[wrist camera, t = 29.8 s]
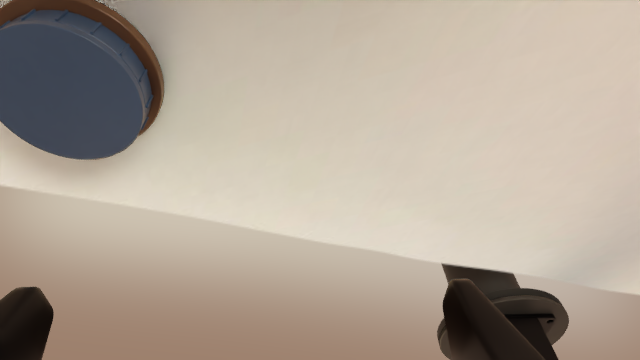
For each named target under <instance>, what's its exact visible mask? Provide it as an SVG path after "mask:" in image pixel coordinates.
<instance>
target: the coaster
mask: <svg viewBox="0 0 640 360" xmlns="http://www.w3.org/2000/svg"><path fill="white" fill-rule="evenodd" d="M32 9H35V10H36V11H39V10H60V11H64V10H65V9H66V10H68V11H69V12H71V13H75V14H79V15H81V16H85V17H87V18H89V19H92V20H94V21H96V22H98V23H99V22H101V23H102V25H103V26H105V27H107V28H108V29H109V30H111V31H112V32H114V33H115V34H116V35H118V36H119V37H120V38H121V39H122V40H123V41H125V43H127V44H128V43H129V44H130V46H129V47H130V48H131V49H132V50H133V51H134V53H135V54H136V55H137V56H138V58H139V60H140V61H141V63H142V64H143V66H144V68H145V69H147V71H148V72H147V75H148V78H149V81H150V85H151V91H152V95H154V97H153V99H152V101H151V108H150V111H149V114H148V117H149V118H148V120H147V122H146V124H145V126H144V128H143V130H140V132H139V134H138V136H139V135H141V134H142V133H143V132H145V131H146V130H147V129H148V128H149V127H150V126H151V124H152V123H153V122H154V120H155V118H156V117H157V115H158V113H159V111H160V108H161V105H162V102H163V96H164V81H163V75H162V71H161V68H160V65H159V63H158V60H157V58H156V56H155V54H154V52H153V50H152V49H151V47H150V45H149V44H148V43H147V41H146V40H145V39H144V37H143V36H142V35H141V34H140V33H139V32H138V30H137V29H136V28H135V27H134V26H133V25H131V24H130V23H129V22H128V21H127V20H126V19H125V18H123V17H122V16H121V15H119V14H118V13H117V12H115V11H114V10H112V9H110V8H109V7H107V6H105V5H103V4H101V3H99V2H97V1H95V0H12V1H10V2H9V3H7V4H5V5H4V6H3V7H2V8H1V9H0V26H2V25H3V24H4V23H6V22H7V21H13V20H14V19H16V18H18V17H19V16H21V15H24V14H27V13H28V12H30V11H31V10H32Z"/></svg>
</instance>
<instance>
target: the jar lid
mask: <svg viewBox="0 0 640 360" xmlns="http://www.w3.org/2000/svg"><path fill="white" fill-rule="evenodd" d="M129 46H130V44H129V43H128V44H127V43H125V41H123V40H122V39H121V38H120V37H119V36H118V35H116V34H115V33H114V32H112V31H111V30H109V29H108V28H107V27H105V26H103V25H102V23H101V22H99V23H98V22H96V21H94V20H92V19H89V18H87V17H85V16H81V15H79V14H75V13H71V12H69V11H68V10H66V9H65V10H64V11H60V10H39V11H36V10H35V9H32V10H31V11H30V12H28V13H27V14H24V15H21V16H19V17H18V18H16V19H14V20H13V21H7V22H6V23H4V24H3V25H2V26H0V121H1V122H2V123H3V124H4V125H5V126H6V127H7V128H8V129H9V130H11V131H12V132H13V133H14V134H16V135H17V136H18V137H20V138H21V139H23V140H24V141H26V142H28V143H29V144H31V145H33V146H35V147H37V148H39V149H41V150H44V151H46V152H49V153H52V154H55V155H58V156H62V157H66V158H71V159H79V160H94V159H102V158H106V157H110V156H113V155H115V154H117V153H120V152H121V151H123V150H124V149H126V148H127V147H128V146H130V145H131V144H132V143H133V141H134V140H135V139H136V138H137V136H138V134H139V132H140V130H143V128H144V126H145V124H146V122H147V120H148V118H149V117H148V114H149V111H150V108H151V101H152V99H153V97H154V95H152V91H151V85H150V81H149V78H148V75H147V72H148V71H147V69H145V68H144V66H143V64H142V63H141V61H140V60H139V58H138V56H137V55H136V54H135V53H134V51H133V50H132V49H131V48H130V47H129Z"/></svg>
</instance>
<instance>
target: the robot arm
mask: <svg viewBox="0 0 640 360" xmlns="http://www.w3.org/2000/svg"><path fill="white" fill-rule="evenodd" d="M443 312H444V318H445V324H446V330H447V335H448V341H449V347H450V352H451V358H452V360H558V358H557V356H556V354H555V352H554V350H553V348H552V346H551V343H550V341H549V339H548V337H547V333H548V332H549V330H550V329H551V328H552V326H553V325H554V324H555V322H556V318H555V316H554V314H552V313H542V314H502V313H501V312H500V311H499V310H498V309H497V307H496V306H495V305H494V304H493V303H492V302H491V301H490V300H489V299H488V298H487V297H486V296H485V295H484V294H483V293H482V291H481V290H480V289H479V288H478V287H477V286H476V285H475V284H474V283H473V282H472V281H471V280H469V279H452V280H451V281H450V283H449V285H448V288H447V291H446V294H445V297H444V300H443ZM52 321H53V309H52V306H51V305H50V303H49V302H48V300H47V299H46V297H45V296H44V294H43V293H42V291H41V290H40V289H39V288H37V287H19V288H16V289H14V290H13V291H11V292H10V293H9V294H7V295H6V296H5V297H4V298H2V299H1V300H0V360H42V356H43V353H44V349H45V345H46V342H47V338H48V335H49V331H50V328H51V324H52Z"/></svg>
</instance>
